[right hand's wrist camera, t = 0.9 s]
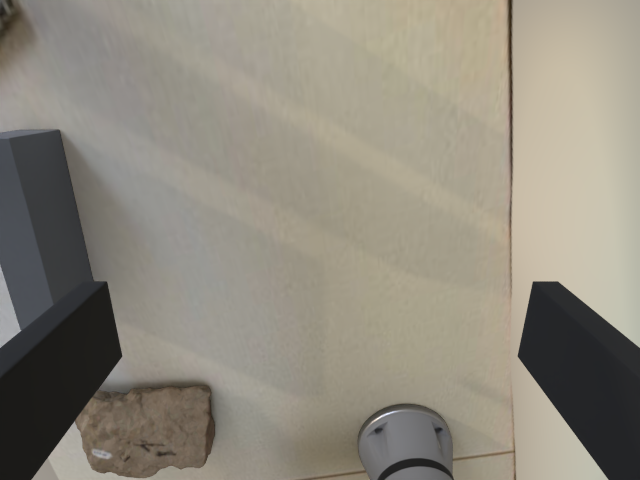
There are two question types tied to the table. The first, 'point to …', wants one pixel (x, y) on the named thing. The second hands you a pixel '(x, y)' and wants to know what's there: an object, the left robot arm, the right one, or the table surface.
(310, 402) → the table surface
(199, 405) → the stone
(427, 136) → the table surface
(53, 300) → the bar
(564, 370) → the right robot arm
